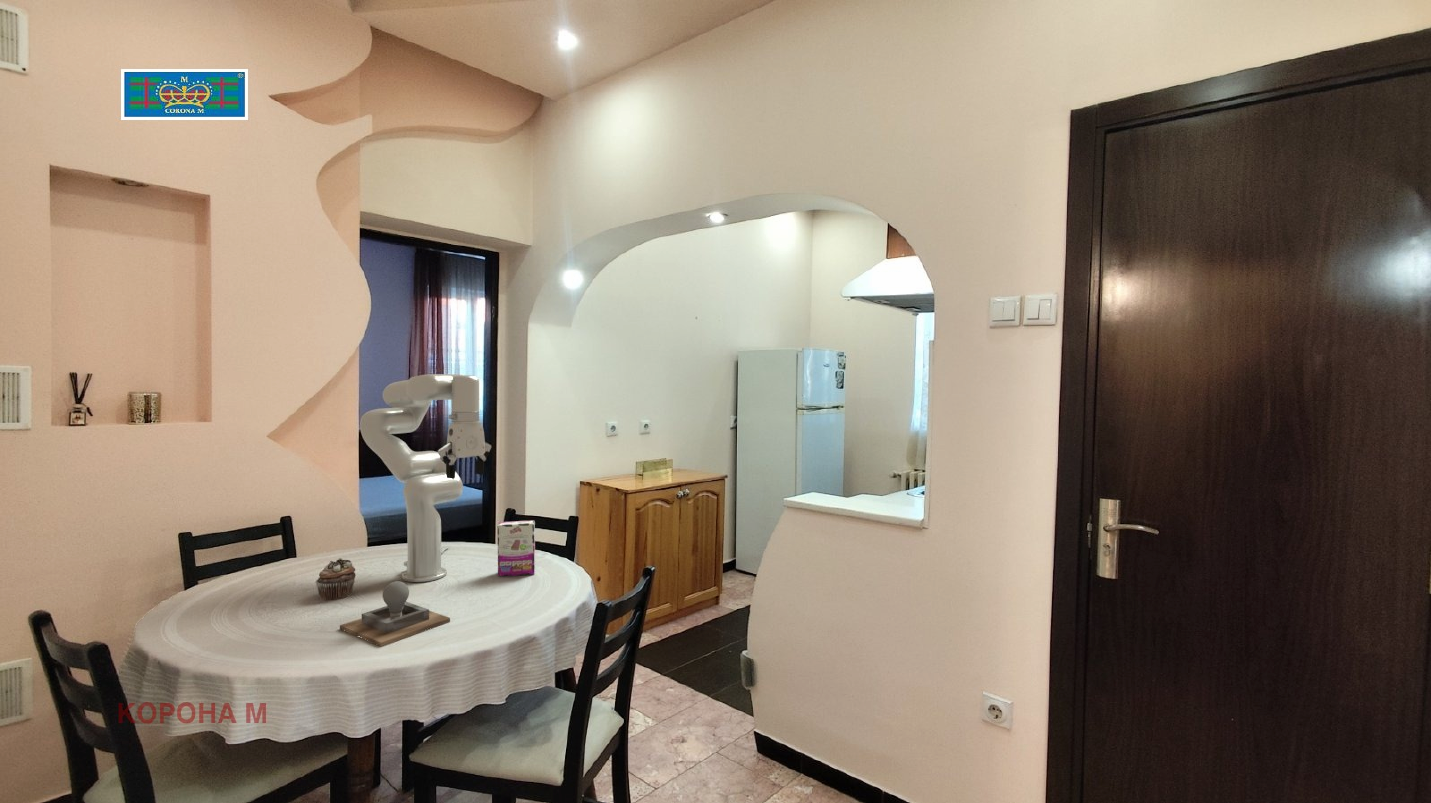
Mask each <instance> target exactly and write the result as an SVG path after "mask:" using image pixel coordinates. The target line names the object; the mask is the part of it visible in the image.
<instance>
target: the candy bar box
mask: <svg viewBox="0 0 1431 803" xmlns="http://www.w3.org/2000/svg"><path fill="white" fill-rule="evenodd" d="M535 525H536V522H535V520H518V521H514V520H513V521H500V522H498V524H497V576H498V577H499V576H501V577H513V576H515V577H516V576H517V577H518V576H525V575H526V576H530V574H532V575H535V570H536V539H535V538H536V535H535V534H536V533H535V531H536V530H535Z"/></svg>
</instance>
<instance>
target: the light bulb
mask: <svg viewBox="0 0 1431 803" xmlns="http://www.w3.org/2000/svg"><path fill="white" fill-rule="evenodd" d="M409 596H410V588H409V586H408V585H407V584H406V583H404V582H403V581H398V580H397V581H392V582H390V583H388V584H387V585H386V586H385V588H384V589H383V591H382V600H383V602H384V603H385V605H386V606H388V608H389V612H390V617H391V618H390V620H392V619H395V618H398V617H401V616H402V610H403V607H404V604H405V602H407V601H408V599H409Z"/></svg>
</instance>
